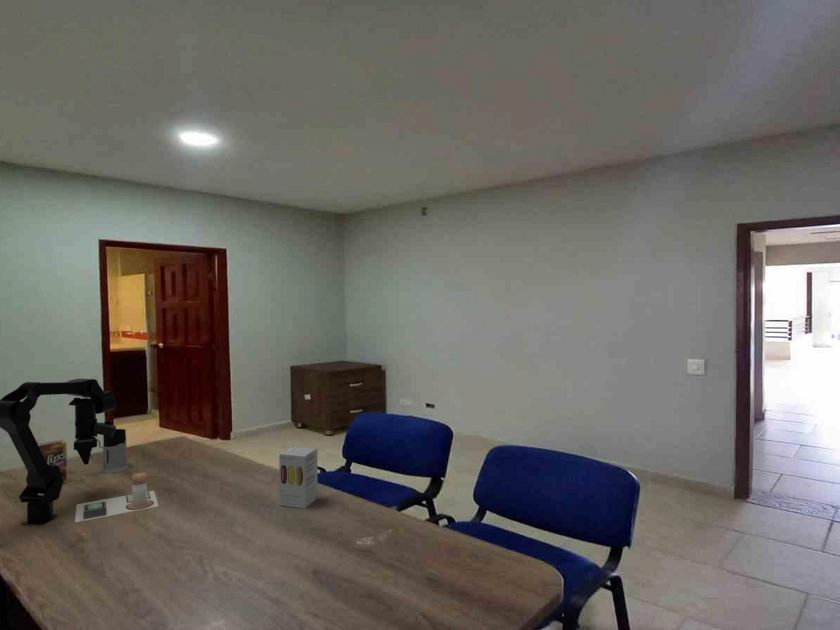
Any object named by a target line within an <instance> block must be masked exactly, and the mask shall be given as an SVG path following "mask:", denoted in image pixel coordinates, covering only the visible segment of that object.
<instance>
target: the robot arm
mask: <svg viewBox="0 0 840 630" xmlns="http://www.w3.org/2000/svg"><path fill="white" fill-rule="evenodd" d="M51 395H68V396H72V397H73V396H74V398H73V399H72V400H71V401H70V402H69V403H68V406H74V419H75V421H74V426H75V427H74V428H75V431H74V432H75V433H74V434H75V435H74V439H75V440H74V441H73V450H74V451H76V452H77V454H78V455H79V458H80V459H81V461H82V462H83V465H85V466H86V465H87V466H88V465H89V462H90V459H91V457H90V454H91V455H92V450H93V449H95V448H98V441H97V439H98V438H97V437H98V435H102V436H103V435H105V436H108V437H113V435H114V432H115V430H116V429H117V426H116V425H115V424H113V423H112V420H110V419H106V420H105V421H104V422H98V418H97V415H99V414H100V415H101V414H103V413H107V412H111V411H114V410H115V409H116V408H117V405H118V400H117V399H116V396H114V395H113V393H112V391H107V390H106V391H104V389H103V388H102V387H101V385H100V384H99V382H98V380H97V379H96V378H74V379H69V380H68V381H65V382H63V381H62V382H60V381H59V382H37V381H26V382H23V383H22V384H20V386H18V387H17V388H16V389H14V390H13V391H11V392H9V393H8V394H5V395H4V396H2V398H1V399H0V429H2V430H3V431H4V432H6V433H7V434H8V435H9V438H10V439H11V442H12V444H13V445H14V448H15V450H16V451H17V453H18V455H19V457H20V459H21V461H22V463H23V464H24V465H23V466H25V469H26V470H27V475H26V478H25V481H26V486H25V488H24V489H23V491H22V492H21V494H19V497H18V499H19V500H20V503H27V505H26V513H27V514H26V515H27V516H26V521H24V522H23V523H22V524H21V525H23V526H30V525H31V526H35V525H45V524H48V523H49V522H50V521H52V520H54V519H56V517H58V516H59V514H54V502H55V501H56V500H59V499H60V496H61V492H62V487H63V484H64V483H63V478H62V477H63V476H64V475H63V474H62V473H61V471H60V468H59V466H57V465H48V464H47V462H46V460H45V458H44V456H43V454H42V452H41V449H40V447H39V445H38V441H37V440H36V437H35V436H34V435H35V434H34V433H33V432H32V429H31V428H30V427H31V426H30V421H31V416H32V415H31V411H32V410H33V409H34V408H35V407H36V405H37V402H38V400H39V397H40V396H51Z"/></svg>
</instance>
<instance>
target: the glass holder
mask: <svg viewBox="0 0 840 630" xmlns="http://www.w3.org/2000/svg"><path fill="white" fill-rule="evenodd" d="M126 432H127V431H126V429H124V428H116V430H115V432H114V435H113V437H108V436H105V435H102V436H103V437H102V438H103V445H102V446H101V441H100V440H99V439H98V438H97V443H98V447H99V448H100V449H102V456H103V457H102V458H103V459H102V460H103V462H101V461H99V460H97V459H95V458H94V456H92V453H91V454H90V459H92V460H93V461H95V462H97V463H99V464H100V465H102V470H101V472H102V473H104V474H112V473H113V474H114V472H115V473H119V472H124V471H126V470H128V468H129V465H128V463H127V462H128V461H127V458H128V456H127V434H126Z"/></svg>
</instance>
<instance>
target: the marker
mask: <svg viewBox="0 0 840 630" xmlns="http://www.w3.org/2000/svg"><path fill="white" fill-rule="evenodd" d="M147 475H148V474H147V472H145V471H143V472H135V473H133V474H132V475H131V491H132V492H131V493H132V494H131V495H132V504H133V506H134V507H138V506H143V505H145V504H147V492H148V490H147V488H148V487H147V481H148V476H147Z"/></svg>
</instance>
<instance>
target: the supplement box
mask: <svg viewBox="0 0 840 630" xmlns="http://www.w3.org/2000/svg"><path fill="white" fill-rule="evenodd" d="M278 456H279V464H278V465H279V470H278V471H279V475H278V476H279V480H278V485H279V486H278V487H279V488H278V489H279V490H278V491H279V493H278V494H279V495H278V497H279V499H278V500H279V501H278V505H279V506H280V507H289V508H295V509H306V508H308V507H309V506H310V505H311V504H312V503H313V502H315V501H316V500H317V499H318V448H315V447H313V448H312V447H300V446H291V447H290V448H288V449H285V450H284V451H282V452H279V455H278Z"/></svg>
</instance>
